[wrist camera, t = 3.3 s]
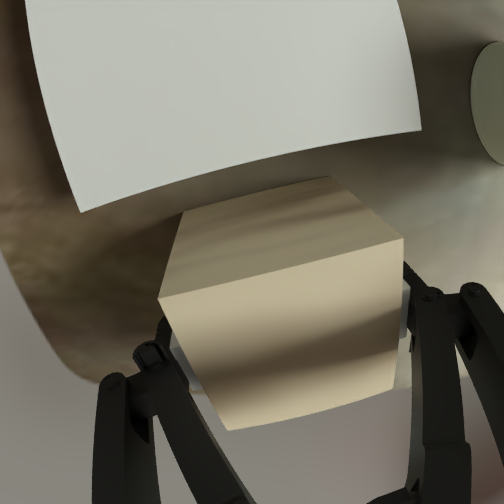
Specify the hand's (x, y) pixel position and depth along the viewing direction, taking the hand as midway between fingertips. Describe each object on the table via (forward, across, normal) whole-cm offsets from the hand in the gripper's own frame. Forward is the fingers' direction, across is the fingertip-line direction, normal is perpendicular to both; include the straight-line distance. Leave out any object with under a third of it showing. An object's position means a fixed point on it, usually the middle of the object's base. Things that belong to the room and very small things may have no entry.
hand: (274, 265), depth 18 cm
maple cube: (+1, 0, 0) cm, 1 cm away
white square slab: (+1, 0, +14) cm, 14 cm away
